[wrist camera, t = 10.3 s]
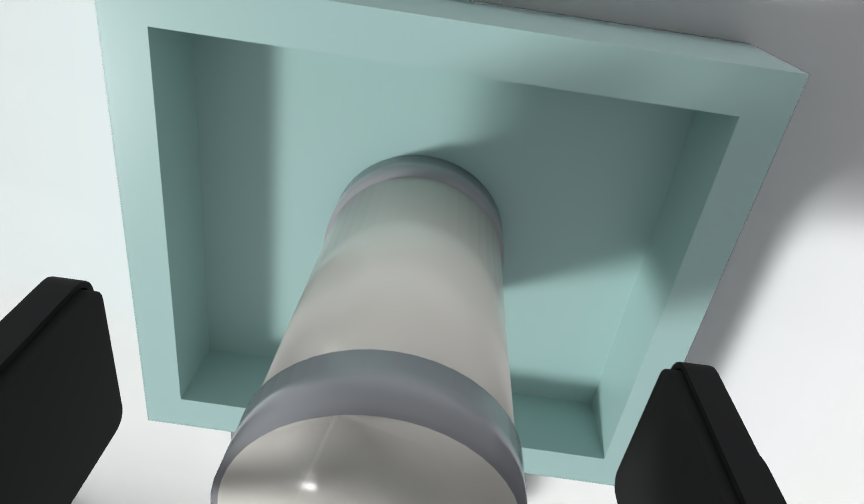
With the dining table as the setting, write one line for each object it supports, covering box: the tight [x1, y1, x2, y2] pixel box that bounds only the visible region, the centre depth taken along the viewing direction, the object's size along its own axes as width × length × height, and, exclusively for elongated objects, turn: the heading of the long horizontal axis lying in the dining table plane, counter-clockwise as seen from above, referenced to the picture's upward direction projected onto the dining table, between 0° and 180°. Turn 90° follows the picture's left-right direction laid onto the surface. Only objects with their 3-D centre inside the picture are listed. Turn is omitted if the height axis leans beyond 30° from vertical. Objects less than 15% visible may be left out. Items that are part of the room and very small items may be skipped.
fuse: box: [211, 155, 527, 504], centre depth 13 cm, size 5×5×9 cm
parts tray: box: [95, 0, 809, 486], centre depth 16 cm, size 12×14×3 cm
